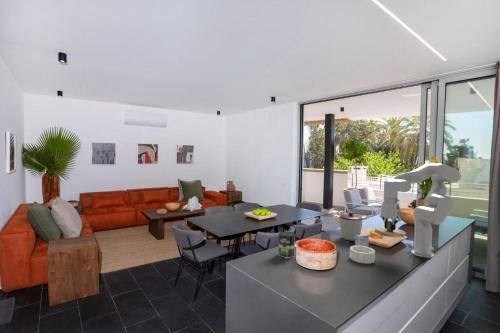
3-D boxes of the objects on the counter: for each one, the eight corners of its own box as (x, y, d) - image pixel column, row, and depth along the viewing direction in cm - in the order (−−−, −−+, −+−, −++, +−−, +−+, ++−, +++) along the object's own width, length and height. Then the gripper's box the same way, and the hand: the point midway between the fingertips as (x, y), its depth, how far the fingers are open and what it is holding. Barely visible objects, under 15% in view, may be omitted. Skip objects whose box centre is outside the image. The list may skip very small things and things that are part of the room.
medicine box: (358, 249, 181) (359, 236, 180) (354, 246, 185) (355, 234, 185) (368, 248, 183) (368, 235, 183) (364, 246, 187) (364, 234, 187)
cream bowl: (359, 253, 172) (360, 244, 172) (379, 260, 160) (379, 251, 160) (345, 257, 166) (345, 247, 165) (364, 265, 153) (364, 255, 153)
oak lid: (385, 227, 174) (385, 217, 174) (411, 234, 160) (411, 222, 159) (369, 231, 166) (369, 220, 166) (395, 238, 151) (395, 226, 151)
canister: (333, 237, 207) (333, 210, 206) (349, 234, 215) (349, 209, 215) (351, 244, 191) (352, 215, 190) (368, 240, 199) (368, 213, 199)
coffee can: (291, 259, 161) (292, 237, 160) (276, 256, 166) (276, 234, 165) (296, 254, 170) (297, 232, 169) (282, 251, 175) (282, 230, 174)
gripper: (407, 201, 157) (406, 231, 157) (381, 197, 171) (381, 225, 172) (400, 202, 153) (399, 233, 154) (374, 198, 168) (374, 227, 168)
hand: (389, 229), depth 163 cm, fingers closed on oak lid, 3 cm apart
